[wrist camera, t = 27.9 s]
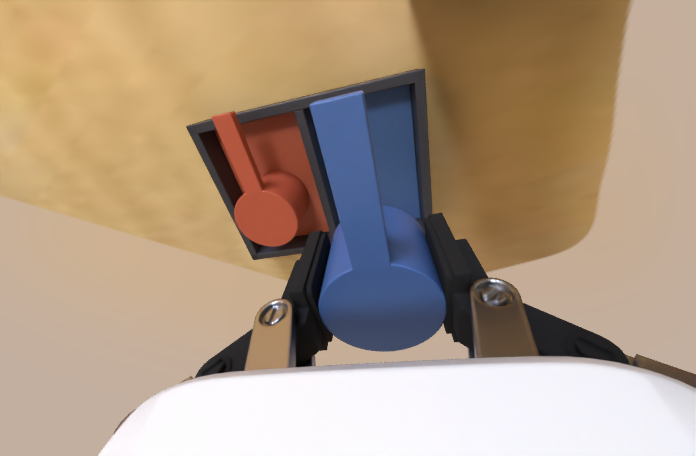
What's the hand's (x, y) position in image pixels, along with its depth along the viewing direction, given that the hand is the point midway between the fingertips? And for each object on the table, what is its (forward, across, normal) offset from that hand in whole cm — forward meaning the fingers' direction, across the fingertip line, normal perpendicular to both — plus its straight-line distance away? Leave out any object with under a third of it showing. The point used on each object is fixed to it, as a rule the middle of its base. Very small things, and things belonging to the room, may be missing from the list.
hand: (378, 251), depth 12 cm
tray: (+10, +4, -1) cm, 10 cm away
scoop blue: (0, 0, -2) cm, 2 cm away
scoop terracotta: (+9, +8, -2) cm, 12 cm away
